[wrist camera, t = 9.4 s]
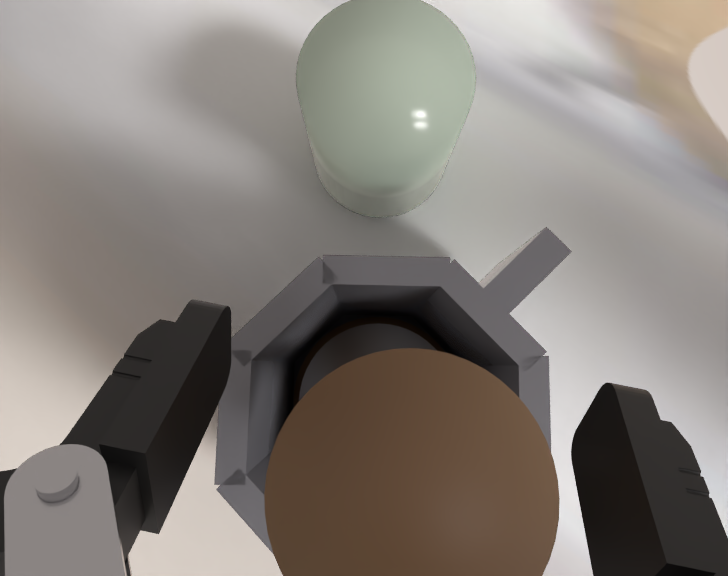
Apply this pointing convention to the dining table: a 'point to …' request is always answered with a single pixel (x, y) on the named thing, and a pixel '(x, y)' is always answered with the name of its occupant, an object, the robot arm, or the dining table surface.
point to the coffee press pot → (372, 306)
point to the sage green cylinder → (384, 101)
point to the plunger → (408, 467)
